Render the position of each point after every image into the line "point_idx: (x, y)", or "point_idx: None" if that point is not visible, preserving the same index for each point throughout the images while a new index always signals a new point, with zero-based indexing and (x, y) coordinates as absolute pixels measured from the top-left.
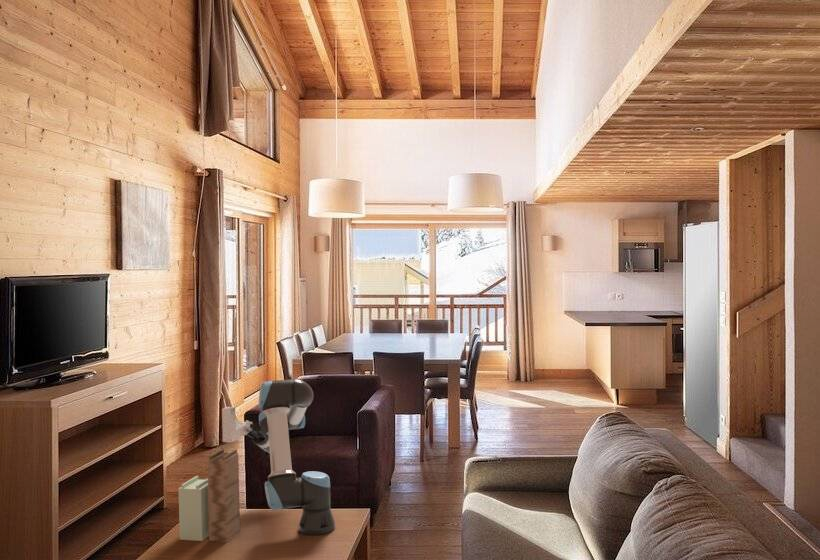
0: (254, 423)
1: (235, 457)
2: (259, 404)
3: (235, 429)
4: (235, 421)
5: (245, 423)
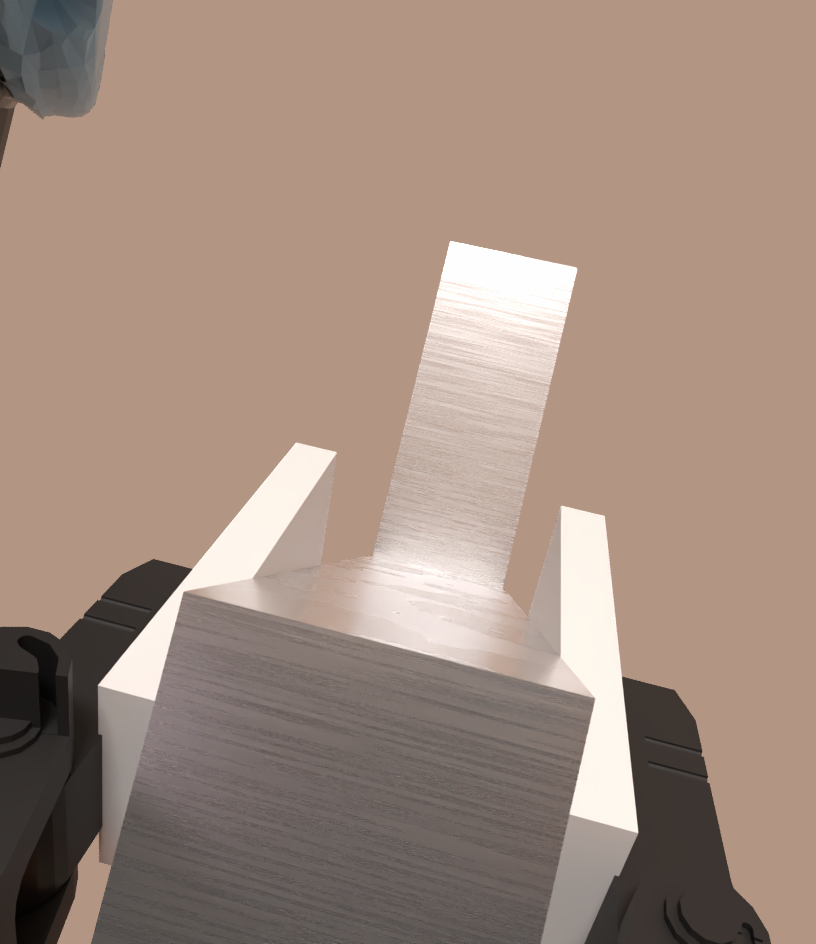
0: (61, 643)
1: None
2: (104, 29)
3: (378, 539)
4: (403, 432)
5: (380, 600)
